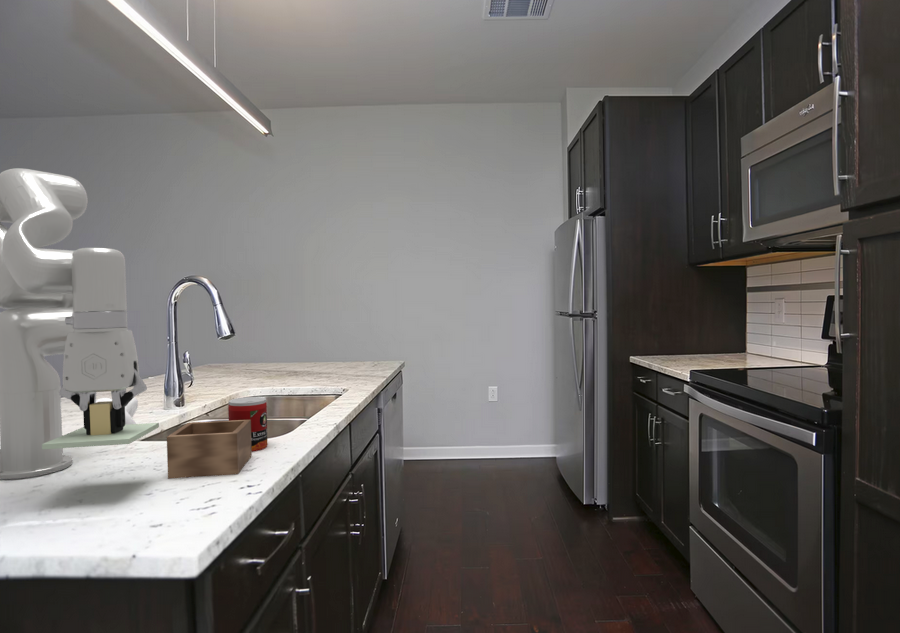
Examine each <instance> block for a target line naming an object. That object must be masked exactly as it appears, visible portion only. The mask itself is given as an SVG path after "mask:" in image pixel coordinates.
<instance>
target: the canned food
mask: <svg viewBox="0 0 900 633" xmlns="http://www.w3.org/2000/svg"><path fill="white" fill-rule="evenodd" d="M227 405H228V406H227V407H228V408H227V409H228V410H227V414H228V421H232V420H251V450H252V453H255V452H258V451H261V450H264V449H266V448H268V406H267V405H268V404H267V398H266V397H262V396H245V397H243V396H242V397H236V398H233V399H230V400H228V403H227Z"/></svg>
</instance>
